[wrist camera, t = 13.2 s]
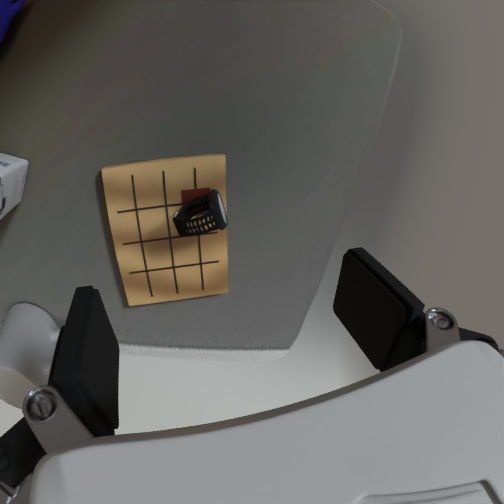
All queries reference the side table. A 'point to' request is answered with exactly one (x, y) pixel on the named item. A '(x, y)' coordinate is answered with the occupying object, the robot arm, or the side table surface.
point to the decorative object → (7, 14)
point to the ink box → (11, 182)
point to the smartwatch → (215, 211)
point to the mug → (25, 351)
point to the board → (166, 228)
